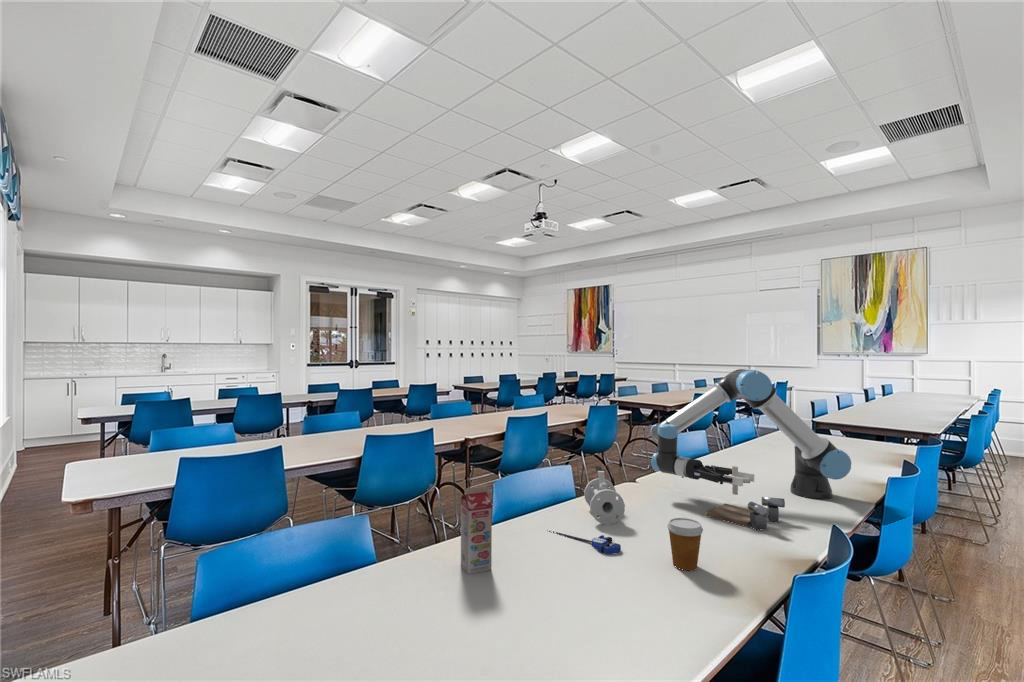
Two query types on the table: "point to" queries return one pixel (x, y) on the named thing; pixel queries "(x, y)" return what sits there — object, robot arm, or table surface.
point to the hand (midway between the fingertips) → (748, 480)
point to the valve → (604, 500)
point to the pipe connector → (735, 473)
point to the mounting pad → (731, 514)
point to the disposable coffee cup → (685, 542)
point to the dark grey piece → (758, 516)
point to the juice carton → (476, 530)
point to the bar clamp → (600, 544)
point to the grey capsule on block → (773, 507)
